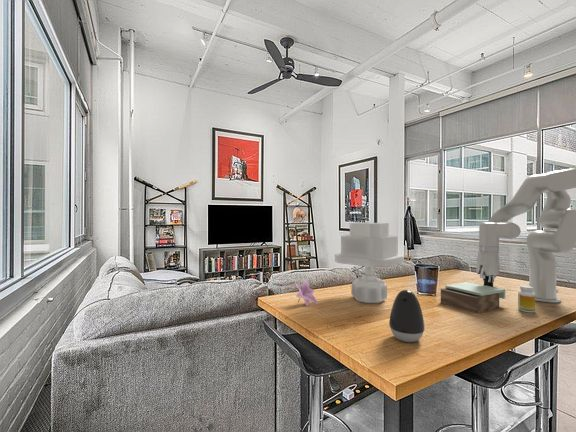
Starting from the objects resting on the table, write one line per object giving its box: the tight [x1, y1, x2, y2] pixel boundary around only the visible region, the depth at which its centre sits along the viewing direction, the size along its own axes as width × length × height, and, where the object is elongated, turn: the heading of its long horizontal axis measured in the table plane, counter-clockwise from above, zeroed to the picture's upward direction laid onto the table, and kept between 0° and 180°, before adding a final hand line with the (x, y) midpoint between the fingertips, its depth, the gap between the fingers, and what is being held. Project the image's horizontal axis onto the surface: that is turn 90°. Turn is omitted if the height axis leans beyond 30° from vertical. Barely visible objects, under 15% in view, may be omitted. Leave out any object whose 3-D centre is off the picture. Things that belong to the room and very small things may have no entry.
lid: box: [444, 281, 506, 300], centre depth 131 cm, size 16×16×4 cm
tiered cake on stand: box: [334, 222, 405, 304], centre depth 139 cm, size 27×27×35 cm
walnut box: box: [440, 287, 500, 314], centre depth 130 cm, size 15×16×6 cm
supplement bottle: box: [517, 285, 536, 313], centre depth 122 cm, size 5×5×10 cm
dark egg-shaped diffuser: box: [388, 289, 426, 343], centre depth 94 cm, size 10×10×15 cm
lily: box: [295, 278, 319, 308], centre depth 132 cm, size 12×12×10 cm
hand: (488, 290), depth 136 cm, fingers closed
